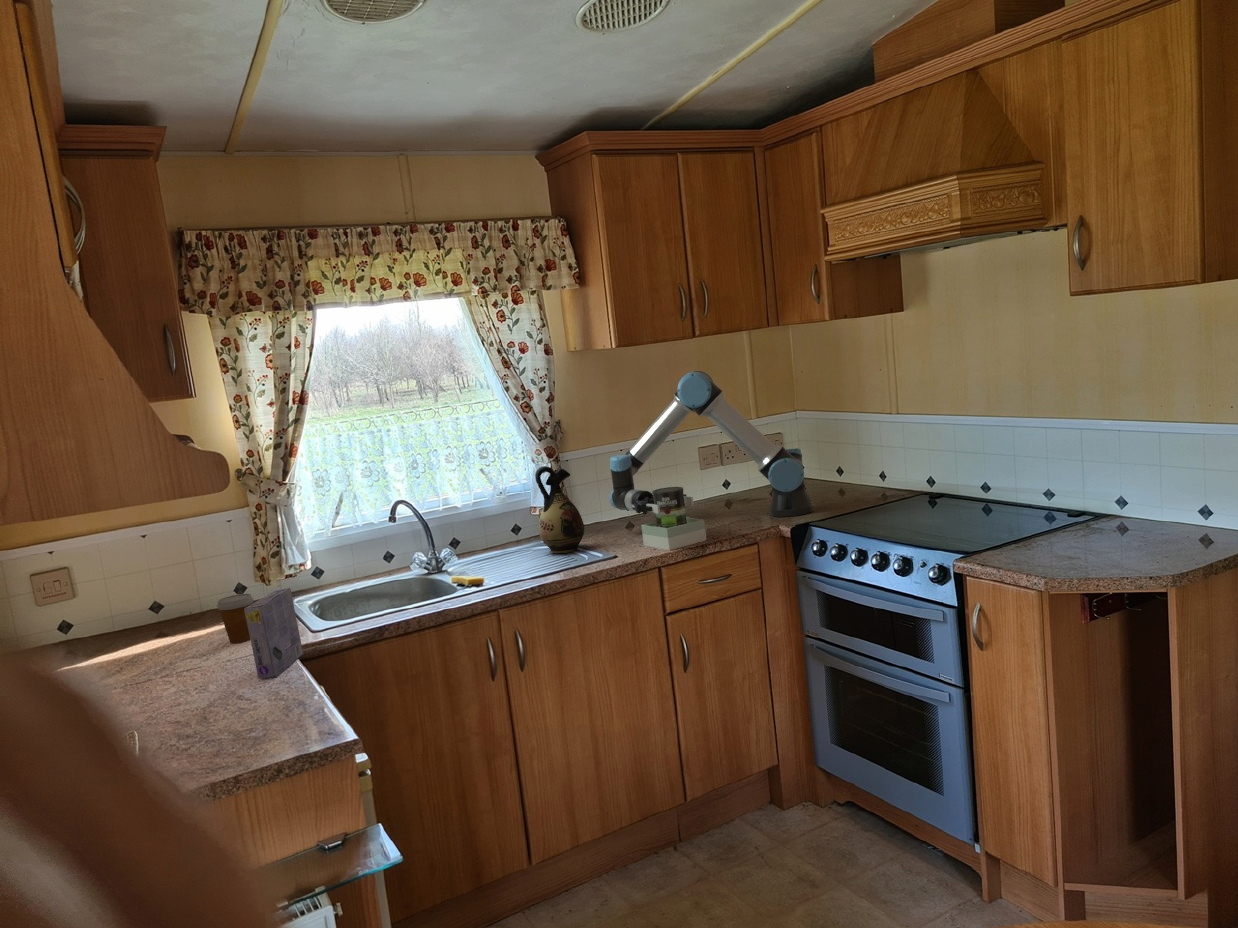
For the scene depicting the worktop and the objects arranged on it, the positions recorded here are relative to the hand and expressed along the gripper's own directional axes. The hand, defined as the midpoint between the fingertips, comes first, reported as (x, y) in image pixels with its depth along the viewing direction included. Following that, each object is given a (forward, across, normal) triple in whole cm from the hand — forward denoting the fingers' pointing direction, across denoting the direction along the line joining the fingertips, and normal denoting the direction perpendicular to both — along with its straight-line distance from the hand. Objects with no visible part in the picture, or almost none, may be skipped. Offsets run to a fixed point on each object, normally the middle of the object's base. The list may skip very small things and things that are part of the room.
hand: (675, 505), depth 311 cm
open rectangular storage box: (-3, 0, -13) cm, 13 cm away
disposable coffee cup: (-23, +134, -13) cm, 137 cm away
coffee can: (-3, 0, -9) cm, 10 cm away
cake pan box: (+15, +132, -13) cm, 133 cm away
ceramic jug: (-32, +27, -13) cm, 44 cm away
